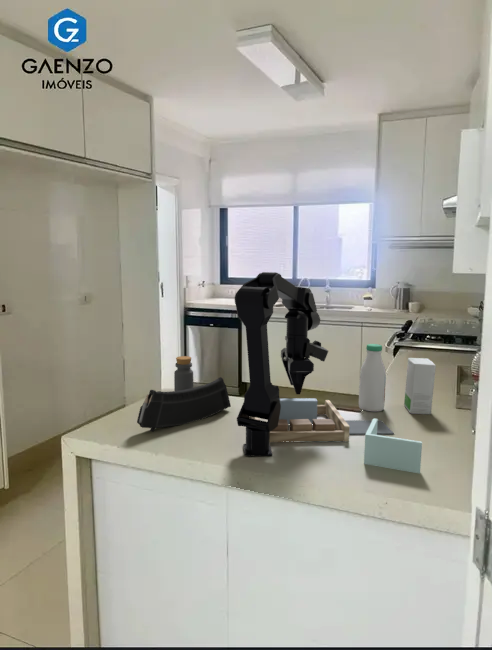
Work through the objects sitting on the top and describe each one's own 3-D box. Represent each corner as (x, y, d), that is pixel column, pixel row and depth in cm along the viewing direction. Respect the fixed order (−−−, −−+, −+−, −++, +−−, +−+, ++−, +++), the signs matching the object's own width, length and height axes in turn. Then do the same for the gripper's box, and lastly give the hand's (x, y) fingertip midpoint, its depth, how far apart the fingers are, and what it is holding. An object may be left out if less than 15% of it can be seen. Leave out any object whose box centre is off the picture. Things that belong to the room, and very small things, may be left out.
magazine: (230, 378, 148) (149, 364, 127) (237, 380, 146) (156, 366, 124) (217, 433, 147) (134, 428, 126) (224, 436, 144) (141, 432, 123)
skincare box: (403, 405, 152) (406, 357, 150) (425, 406, 152) (428, 357, 150) (410, 414, 144) (413, 363, 142) (433, 414, 144) (436, 363, 141)
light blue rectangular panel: (316, 425, 134) (317, 400, 133) (273, 425, 133) (274, 401, 132) (314, 422, 136) (315, 398, 135) (272, 422, 136) (273, 398, 135)
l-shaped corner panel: (419, 476, 104) (421, 443, 103) (363, 466, 109) (365, 434, 108) (423, 455, 115) (424, 425, 114) (371, 447, 120) (373, 418, 119)
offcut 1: (287, 439, 123) (288, 424, 122) (268, 439, 123) (268, 424, 122) (286, 434, 127) (286, 419, 126) (267, 433, 127) (267, 419, 126)
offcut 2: (311, 439, 124) (312, 424, 123) (292, 439, 123) (292, 424, 123) (307, 433, 128) (308, 418, 127) (289, 434, 127) (289, 419, 126)
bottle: (188, 408, 147) (188, 360, 145) (171, 406, 149) (170, 358, 147) (196, 402, 152) (196, 356, 150) (179, 401, 154) (179, 355, 152)
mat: (393, 434, 127) (393, 432, 127) (345, 434, 127) (345, 433, 126) (381, 421, 137) (381, 420, 137) (336, 421, 136) (336, 420, 136)
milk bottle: (383, 413, 144) (386, 348, 141) (356, 410, 147) (359, 346, 144) (385, 406, 151) (388, 343, 149) (360, 403, 154) (363, 341, 151)
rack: (348, 441, 122) (349, 426, 121) (256, 442, 121) (257, 427, 120) (328, 413, 144) (329, 400, 144) (250, 413, 143) (250, 400, 142)
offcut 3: (334, 439, 124) (335, 424, 123) (315, 439, 124) (315, 424, 123) (330, 433, 128) (331, 418, 127) (312, 433, 128) (312, 419, 127)
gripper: (334, 339, 122) (332, 399, 125) (319, 329, 141) (317, 380, 143) (290, 339, 122) (289, 399, 124) (281, 328, 140) (279, 381, 142)
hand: (295, 389), depth 133 cm, fingers open, 9 cm apart
